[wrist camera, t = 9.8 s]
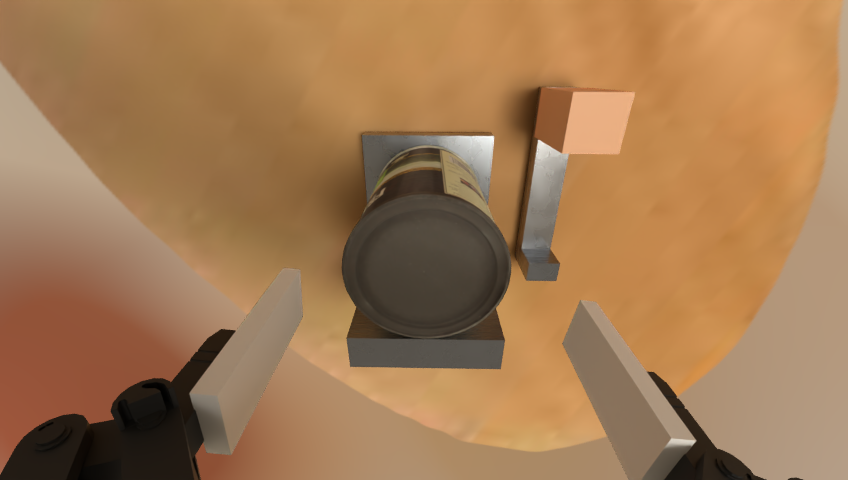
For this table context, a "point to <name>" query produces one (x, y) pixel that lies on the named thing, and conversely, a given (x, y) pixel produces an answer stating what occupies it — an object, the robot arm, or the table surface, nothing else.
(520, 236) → the rail
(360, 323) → the tray
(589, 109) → the lever knob
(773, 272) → the table surface
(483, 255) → the coffee can
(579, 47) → the table surface
